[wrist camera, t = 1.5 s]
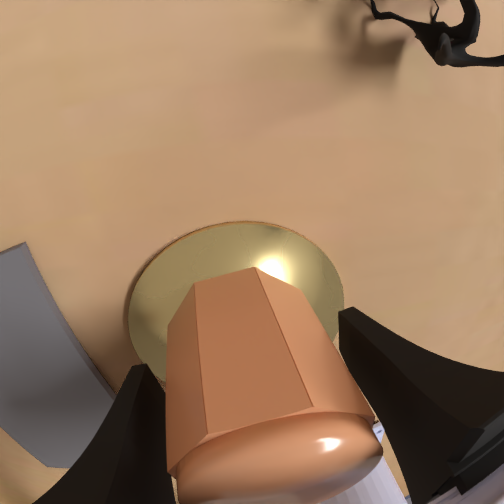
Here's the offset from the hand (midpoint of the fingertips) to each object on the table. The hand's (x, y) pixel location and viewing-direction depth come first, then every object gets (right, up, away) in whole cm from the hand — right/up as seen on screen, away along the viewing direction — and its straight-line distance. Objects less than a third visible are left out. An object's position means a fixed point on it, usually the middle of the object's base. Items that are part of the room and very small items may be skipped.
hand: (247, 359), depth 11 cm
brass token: (0, +1, +2) cm, 2 cm away
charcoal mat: (-12, -4, +2) cm, 13 cm away
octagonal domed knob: (0, +1, +1) cm, 2 cm away
